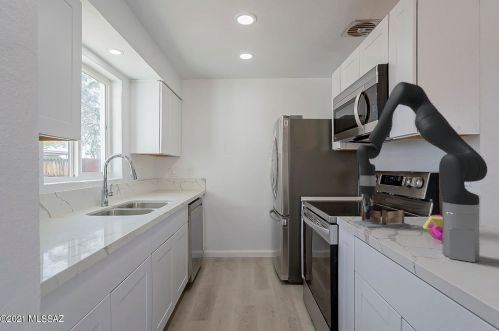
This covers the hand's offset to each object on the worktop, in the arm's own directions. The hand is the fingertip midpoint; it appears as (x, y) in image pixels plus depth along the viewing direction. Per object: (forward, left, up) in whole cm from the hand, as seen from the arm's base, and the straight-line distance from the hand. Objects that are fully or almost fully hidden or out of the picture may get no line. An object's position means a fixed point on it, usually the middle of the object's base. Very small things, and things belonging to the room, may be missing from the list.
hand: (367, 219), depth 131 cm
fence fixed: (+5, -11, -3) cm, 12 cm away
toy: (-12, -29, -3) cm, 32 cm away
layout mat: (+4, -6, -3) cm, 7 cm away
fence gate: (+3, -1, -2) cm, 3 cm away
